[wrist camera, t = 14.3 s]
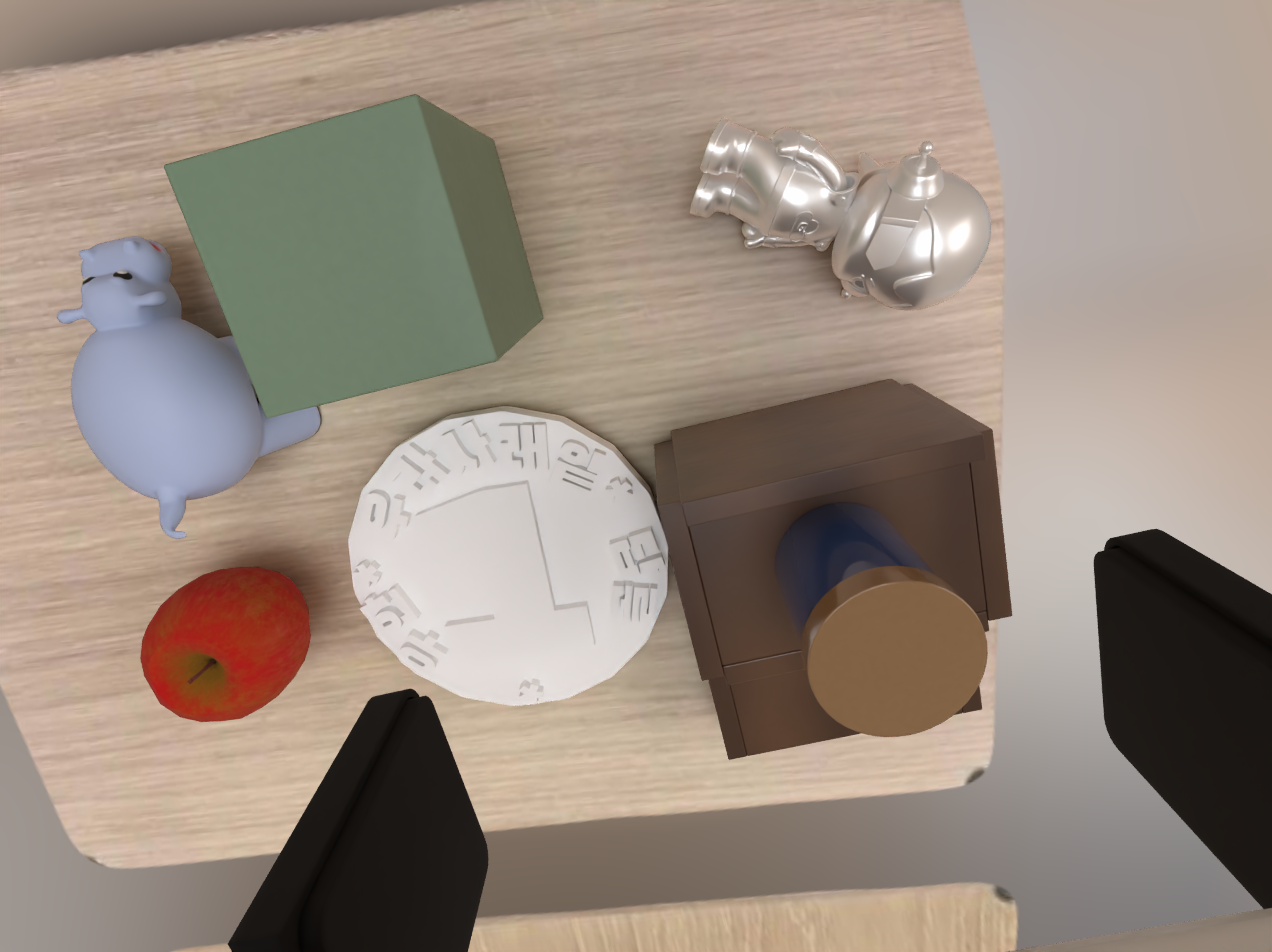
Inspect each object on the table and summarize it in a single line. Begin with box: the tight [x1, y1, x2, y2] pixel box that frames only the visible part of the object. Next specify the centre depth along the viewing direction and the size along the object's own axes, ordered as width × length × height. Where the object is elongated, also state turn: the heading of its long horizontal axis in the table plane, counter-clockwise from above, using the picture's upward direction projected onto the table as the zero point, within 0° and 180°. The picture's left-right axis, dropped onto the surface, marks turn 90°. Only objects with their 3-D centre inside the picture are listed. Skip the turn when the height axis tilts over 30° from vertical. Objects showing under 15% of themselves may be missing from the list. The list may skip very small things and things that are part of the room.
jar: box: [774, 502, 988, 737], centre depth 33 cm, size 7×7×9 cm
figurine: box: [690, 118, 991, 310], centre depth 40 cm, size 11×7×15 cm
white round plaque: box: [348, 406, 668, 706], centre depth 48 cm, size 20×20×3 cm
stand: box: [164, 94, 543, 418], centre depth 36 cm, size 10×10×15 cm
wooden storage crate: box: [654, 379, 1012, 760], centre depth 43 cm, size 16×21×13 cm
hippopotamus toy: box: [57, 236, 321, 539], centre depth 41 cm, size 11×15×10 cm
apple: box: [140, 567, 311, 722], centre depth 45 cm, size 9×8×11 cm
